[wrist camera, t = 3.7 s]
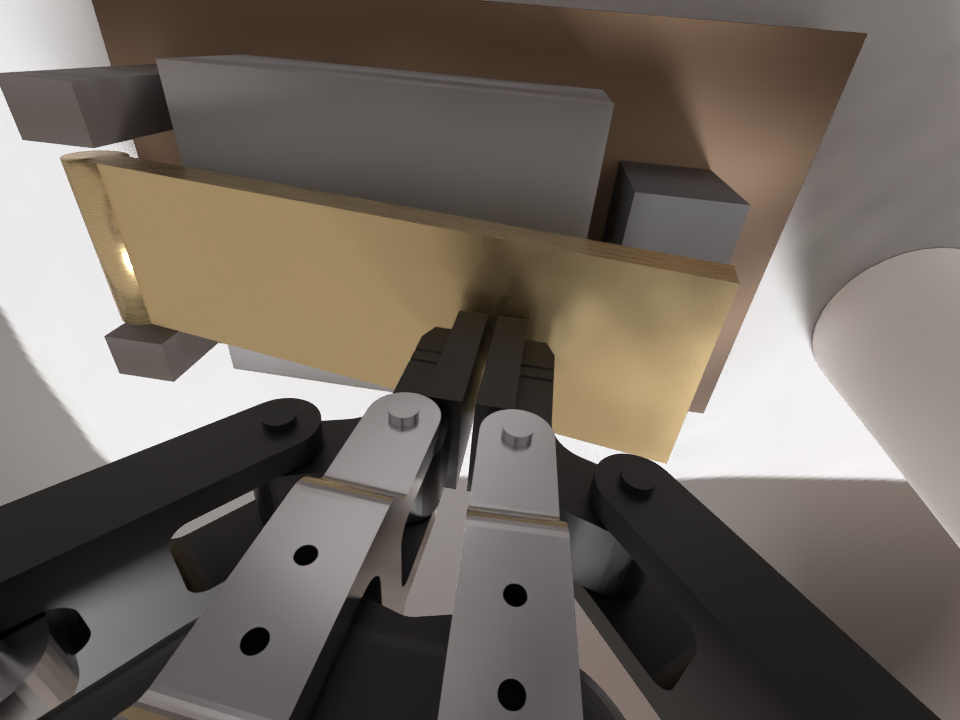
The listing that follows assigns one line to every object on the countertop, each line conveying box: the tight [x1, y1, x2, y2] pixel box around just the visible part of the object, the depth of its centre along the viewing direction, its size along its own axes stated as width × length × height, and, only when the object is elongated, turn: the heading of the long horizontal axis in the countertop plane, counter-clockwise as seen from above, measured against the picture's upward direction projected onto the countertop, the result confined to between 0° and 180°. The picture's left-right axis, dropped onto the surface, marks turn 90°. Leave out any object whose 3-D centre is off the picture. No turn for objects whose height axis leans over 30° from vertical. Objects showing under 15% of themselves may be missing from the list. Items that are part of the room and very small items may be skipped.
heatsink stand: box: [0, 0, 867, 413], centre depth 17 cm, size 14×24×9 cm, turn 86°
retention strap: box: [60, 151, 740, 464], centre depth 13 cm, size 5×18×2 cm, turn 86°
